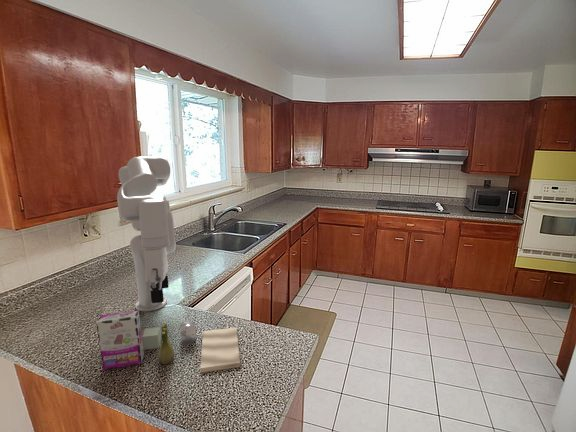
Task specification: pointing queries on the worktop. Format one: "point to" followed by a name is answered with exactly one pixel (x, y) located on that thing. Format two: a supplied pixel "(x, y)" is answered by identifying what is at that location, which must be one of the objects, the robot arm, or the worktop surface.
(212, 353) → the birch board
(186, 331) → the glass globe
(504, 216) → the worktop surface
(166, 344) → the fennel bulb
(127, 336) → the candy bar box
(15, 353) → the worktop surface
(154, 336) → the sage cube
